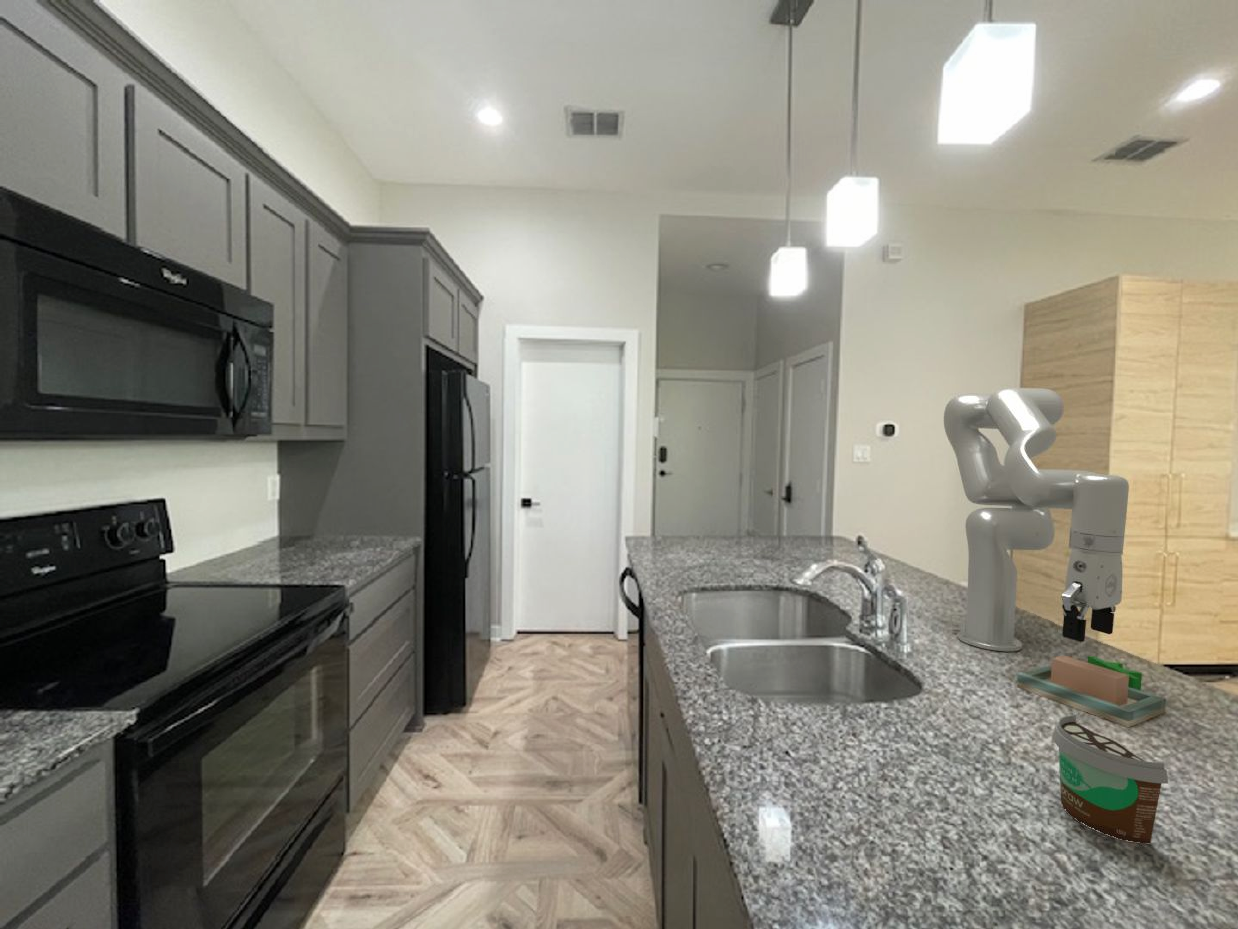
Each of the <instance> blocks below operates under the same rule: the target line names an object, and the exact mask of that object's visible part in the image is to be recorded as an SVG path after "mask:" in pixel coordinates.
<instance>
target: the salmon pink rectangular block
mask: <svg viewBox="0 0 1238 929" xmlns="http://www.w3.org/2000/svg"><path fill="white" fill-rule="evenodd" d="M1051 665H1052V669H1051V683H1054V684H1057V685H1060V686H1063V687H1066V688H1069V689H1071V690H1074V691H1077V692H1080V693H1083V694H1086V695H1089V696H1092V697H1095V698H1098V699H1101V700H1104V701H1107V702H1110V703H1112V704H1115V705H1118V706H1121V705H1124V704H1126V703H1127V699H1128V682H1129V675H1127V674H1124V673H1120V672H1117V671H1114V670H1110V669H1107V668H1104V667H1100V666H1097V665H1094V664H1090V663H1088V661H1085V660H1084V661H1083V660H1080V659H1077V658H1074V657H1070V656H1067V655H1060V656H1057V657H1053V658H1051Z"/></svg>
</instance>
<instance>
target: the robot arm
mask: <svg viewBox="0 0 1238 929" xmlns="http://www.w3.org/2000/svg"><path fill="white" fill-rule="evenodd" d="M1064 408H1065V406H1064V402H1063V399H1062V398H1061V396H1060V395H1059V394H1058V393H1057V392H1055V391H1054V390H1052V389H1048V388H1036V387H1035V388H1034V387H1032V388H1029V387H1007V388H1002V389H999V390H997V391H995V392H993V393H966V394H960V395H957V396H954V397H953V398H951V399H950V400H949V401H948V402H947V403H946V406H945V408H944V413H943V427H944V428H943V429H944V432H945V435H946V437H947V439H948V441H949V443H950V446H951V447H952V450H953V452H954V453H955V458H956V461H957V466H958V470H959V475H960V478H961V483H962V486H963V487H962V488H963V492H964V494H965V496H966V498H967V500H968V501H969V502H970V503H972V504H976V505H981V506H996V507H981V508H978V509H975V510H973V511H971V512H970V513H969V514H968V515H967V517H966V519H965V528H964V529H965V534H966V541H967V548H968V549H967V550H968V567H967V568H968V569H967V594H966V608H965V609H966V611H965V612H966V614H965V617H963V616H961V615H957V614H953V615H952V617H951V619H950V624H951V625H954V626H957V627H958V626H959V627H960V630H958V631H957V639H959V641H961V642H963V643H965V644H966V645H967V644H968V645H970V646H974V647H977V648H981V649H985V650H990V651H996V652H1008V653H1009V652H1017V651H1020V650H1021V649H1022V646H1023V645H1022V642H1021V641H1020V640H1019V639H1017V638H1015V621H1016V602H1017V601H1016V600H1017V583H1018V582H1017V581H1018V579H1017V578H1018V577H1017V576H1018V569H1017V566H1016V564H1015V562H1014V561H1013V559H1012V558H1011V556H1010V554H1009V553H1008V550H1009V551H1012V550H1015V551H1016V550H1017V551H1020V550H1021V551H1041V550H1045V549H1048V548H1049V547H1050V546H1051V545H1052V544H1053V542H1054V539H1055V531H1056V530H1055V525H1054V520H1053V517H1052V513H1051V510H1050V509H1055V510H1056V509H1057V510H1058V509H1060V510H1061V509H1062V510H1071V518H1070V527H1069V529H1070V530H1069V540H1068V549H1070V550H1071V552H1070V556H1069V559H1068V563H1067V564H1068V565H1067V570H1066V576H1065V585H1064V586H1065V588H1064V592H1063V593H1062V594H1061V600H1062V604H1061V607H1062V609H1063V611H1062V616H1063V623H1062V634H1061V635H1062V636H1063V638H1066V639H1070V640H1071V641H1076V642H1079V643H1083V642H1085V638H1086V630H1087V628H1086V627H1087V619H1085V616H1086V615H1087V613H1088V611H1089V609H1090V608H1091V619H1090V629H1091V630H1093V631H1096V632H1099V633H1100V632H1101V633H1104V634H1107V635H1111V634H1113V630H1114V620H1115V612H1116V610H1117V607H1116V606H1117V605H1120V604H1121V603H1122V596H1123V559H1122V556H1123V555H1124V545H1125V544H1124V543H1125V535H1126V534H1125V533H1126V525H1127V524H1126V522H1127V511H1128V501H1129V491H1130V490H1129V489H1130V484H1129V481H1128V480H1127V479H1126V478H1125V477H1123V476H1118V475H1111V474H1100V473H1097V472H1094V471H1088V470H1079V469H1078V470H1077V469H1075V470H1074V469H1073V470H1070V469H1049V468H1048V469H1047V468H1046V469H1045V468H1043V469H1040V468H1038V467H1037V466H1036V465H1035V464H1034V462H1033V461H1032V460H1031V458H1034V457H1036V456H1039V455H1041V454H1042V453H1045V452H1046V451H1048V450H1049V449H1050V448H1051V447H1052V446H1053V445H1054V443H1055V442H1056V440H1057V436H1058V434H1057V430H1056V428H1055V427H1054V426H1053V425H1055V424H1057V423H1058V422H1059V421H1060V420H1061V419H1062V416H1063V414H1064ZM979 429H987V430H988V429H990V430H993V429H994V430H998V431H999V433H1000V435H1001V436H1002V437H1003V438H1004V441H1005V442H1006V444H1007V445H1008V449H1007V451H1006V453H1005V456H1004V461H1003V464H1002V463H1001V461H1000V460H999V457H998V453H997V449H996V447H995V446H994V444H993V442H991V440H990V439H989V438H988V437H987V436H986V435H984V433H983V432H982V431H980V430H979ZM997 506H999V507H997ZM1000 506H1001V507H1000ZM1003 506H1004V507H1003ZM1011 507H1012V508H1011ZM1079 608H1080V609H1079Z"/></svg>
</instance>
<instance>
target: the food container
mask: <svg viewBox="0 0 1238 929" xmlns="http://www.w3.org/2000/svg"><path fill="white" fill-rule="evenodd" d="M1051 736H1052V737H1051V738H1052V741H1053V743H1054V744H1055V746H1057V747H1058V758H1059V759H1058V761H1059V781H1060V786H1059V787H1060V803H1061V805H1063V806H1062V808H1063V810H1064V809H1066V811H1067V812H1068V813H1069V814H1070V815H1071V816H1073V817H1074V818H1076V819H1077V820H1078V821H1079V822H1078V821H1077V820H1076V821H1077V822H1078V823H1080V822H1082V823H1084V824H1085V825H1087V826H1089V827H1091V828H1094V829H1095V830H1098V831H1100V832H1102V833H1104V834H1108V835H1110V836H1114V837H1116V838H1118V839H1122V840H1128V841H1133V842H1140V843H1150V844H1152V843H1151V842H1152V837H1153V836H1152V835H1153V831H1154V825H1155V821H1156V816H1157V809H1158V804H1159V799H1160V798H1159V797H1160V793H1161V790H1162V789H1161V787H1162V784H1166V785H1167V784H1169V778H1168V772H1167V769H1165V762H1158V761H1157V762H1156V761H1146V760H1144V759H1142V758H1140V757H1139V756H1137V755H1136V754H1135V753H1132V751H1130V750H1128V749H1127V747H1125V746H1123V745H1122V744H1120V743H1118V742H1117V741H1115V740H1113V739H1111V738H1109V737H1106V736H1103V735H1101V734H1098V733H1096V732H1094V731H1092V730H1090V729H1088V728H1086V727H1085V726H1083V725H1081V724H1079V723H1078V722H1077V715H1076V714H1071V715H1065V716H1062V717H1061V718H1059V719H1058V722H1056V724H1055V726H1054V729H1053V732H1052V734H1051ZM1066 811H1065V812H1066ZM1067 812H1066V813H1067ZM1068 813H1067V814H1068ZM1069 814H1068V815H1069ZM1070 815H1069V816H1070ZM1071 816H1070V817H1071ZM1074 818H1073V819H1074ZM1085 825H1084V826H1085ZM1104 834H1103V835H1104ZM1118 839H1117V840H1118ZM1122 840H1121V841H1122Z"/></svg>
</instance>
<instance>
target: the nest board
mask: <svg viewBox="0 0 1238 929" xmlns="http://www.w3.org/2000/svg"><path fill="white" fill-rule="evenodd" d="M1051 669H1052V664H1049V665H1045V666H1043V667H1038V668H1035V669H1030V670H1027V671H1023V672H1019V673H1017V674H1016V675H1017V676H1016V687H1017V688H1019V689H1021V690H1024V691H1027V692H1030V693H1033V694H1035V695H1039V696H1041V697H1042V698H1043V697H1044V698H1046V699H1050V700H1052V701H1055V702H1058V703H1060V704H1062V705H1066V706H1068V707H1071V708H1074V709H1077V710H1078V711H1079V710H1080V711H1083V712H1084V711H1085V713H1087V712H1088V713H1087V714H1091V715H1093V716H1095V715H1096V717H1098V718H1101V719H1104V718H1105V719H1104V720H1106V719H1108V720H1107V721H1109V720H1110V721H1109V722H1112V723H1114V724H1118V725H1120V724H1121V725H1120V726H1123V727H1126V728H1130V727H1134V726H1135V725H1138V724H1141V723H1144V722H1147V721H1148V720H1150V718H1151V719H1153V718H1155V717H1158V716H1161V715H1162V714H1165V713H1166V706H1167V705H1166V703H1167V698H1166V697H1162V696H1158V695H1156V694H1153V693H1148V692H1146V691H1143V690H1141V691H1140V690H1137V689H1134V688H1131V687H1128V699H1127V703H1126V704H1124V705H1121V706H1118V705H1115V704H1112V703H1110V702H1107V701H1104V700H1101V699H1098V698H1095V697H1092V696H1089V695H1086V694H1083V693H1080V692H1077V691H1074V690H1071V689H1069V688H1066V687H1063V686H1060V685H1057V684H1054V683H1051Z"/></svg>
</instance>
